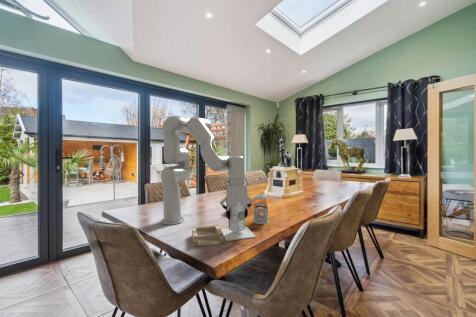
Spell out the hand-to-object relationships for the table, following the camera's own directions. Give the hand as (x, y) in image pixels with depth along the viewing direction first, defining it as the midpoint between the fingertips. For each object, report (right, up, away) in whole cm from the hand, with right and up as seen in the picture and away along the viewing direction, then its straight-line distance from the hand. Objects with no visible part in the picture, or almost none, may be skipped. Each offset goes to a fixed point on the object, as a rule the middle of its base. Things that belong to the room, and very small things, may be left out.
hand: (236, 217), depth 114 cm
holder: (-14, -8, -6) cm, 17 cm away
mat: (0, -8, 0) cm, 8 cm away
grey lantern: (+13, -7, +20) cm, 25 cm away
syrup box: (0, -6, 0) cm, 6 cm away
